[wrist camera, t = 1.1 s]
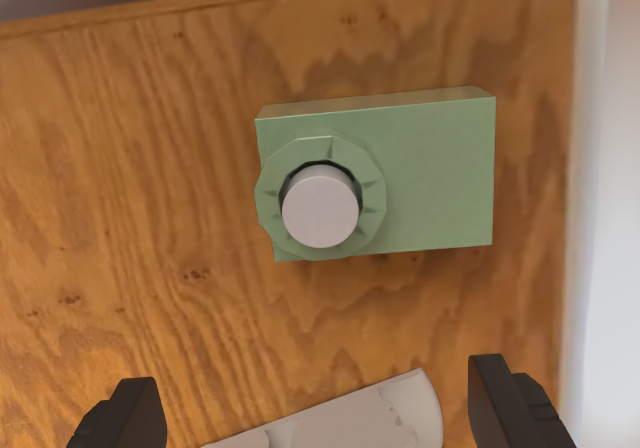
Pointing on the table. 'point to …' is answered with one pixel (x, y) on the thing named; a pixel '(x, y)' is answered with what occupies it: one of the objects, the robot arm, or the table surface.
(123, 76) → the table surface
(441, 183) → the push button box
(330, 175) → the white push button
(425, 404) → the ornament
